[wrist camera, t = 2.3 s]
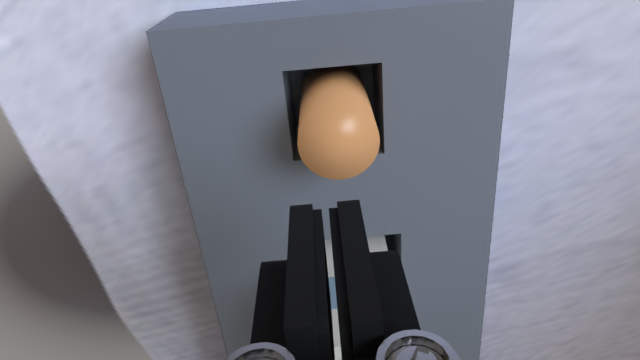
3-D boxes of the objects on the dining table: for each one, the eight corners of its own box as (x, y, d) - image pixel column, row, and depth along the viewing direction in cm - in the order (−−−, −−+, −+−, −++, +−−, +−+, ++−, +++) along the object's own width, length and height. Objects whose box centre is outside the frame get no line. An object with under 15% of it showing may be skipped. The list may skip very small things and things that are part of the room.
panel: (478, -17, 22) (514, -3, 18) (452, 394, 35) (469, 454, 31) (176, 12, 22) (145, 31, 18) (262, 406, 36) (255, 467, 32)
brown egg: (363, 57, 22) (378, 100, 17) (366, 118, 23) (381, 176, 18) (298, 63, 22) (292, 107, 17) (304, 124, 24) (301, 182, 18)
